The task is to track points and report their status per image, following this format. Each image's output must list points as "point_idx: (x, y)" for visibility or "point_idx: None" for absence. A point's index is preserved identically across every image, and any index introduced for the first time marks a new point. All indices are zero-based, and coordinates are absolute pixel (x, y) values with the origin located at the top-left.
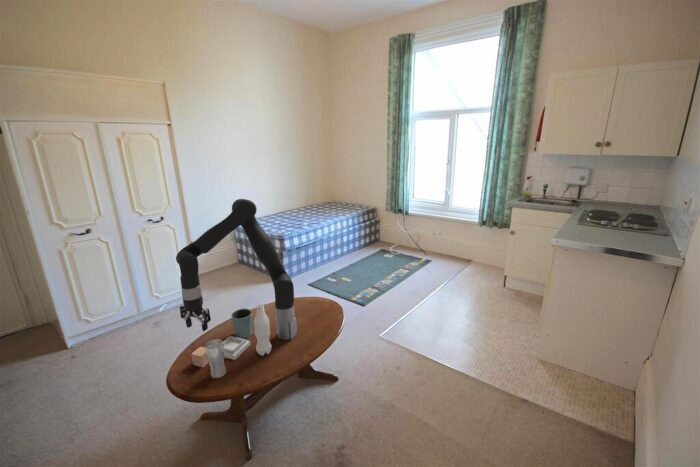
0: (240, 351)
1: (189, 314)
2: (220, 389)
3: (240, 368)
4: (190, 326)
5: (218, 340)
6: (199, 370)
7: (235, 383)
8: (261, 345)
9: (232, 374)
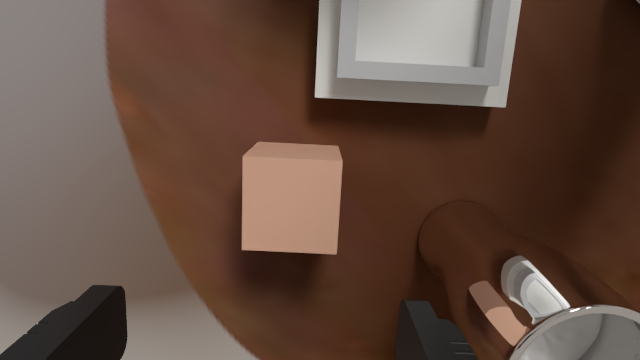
0: (511, 34)
1: None
2: None
3: (571, 168)
4: (124, 313)
5: (587, 306)
6: None
7: None
8: None
9: (547, 226)
